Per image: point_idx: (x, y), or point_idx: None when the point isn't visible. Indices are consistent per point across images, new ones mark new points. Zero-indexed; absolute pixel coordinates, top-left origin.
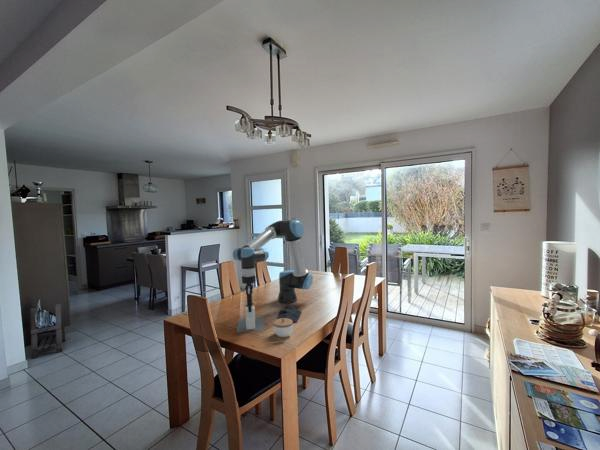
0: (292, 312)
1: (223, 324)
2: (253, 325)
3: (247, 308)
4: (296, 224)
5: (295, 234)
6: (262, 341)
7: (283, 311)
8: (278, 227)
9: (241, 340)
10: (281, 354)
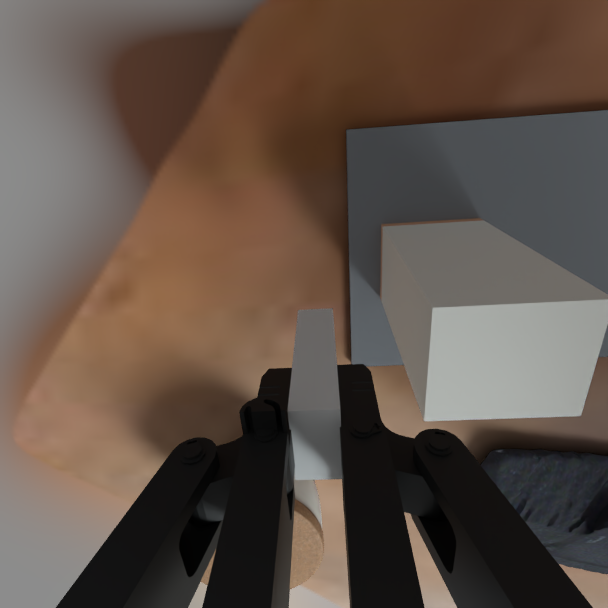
0: (580, 549)
1: None
2: (385, 301)
3: (290, 386)
4: None
5: None
6: (183, 351)
7: None
8: None
9: (205, 198)
10: (29, 443)
